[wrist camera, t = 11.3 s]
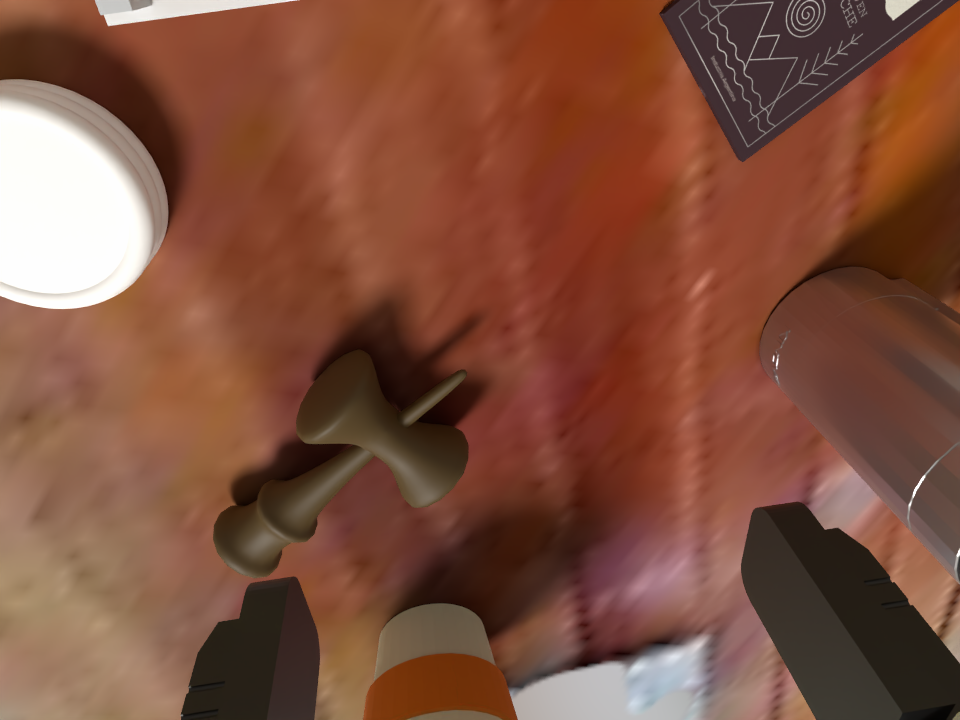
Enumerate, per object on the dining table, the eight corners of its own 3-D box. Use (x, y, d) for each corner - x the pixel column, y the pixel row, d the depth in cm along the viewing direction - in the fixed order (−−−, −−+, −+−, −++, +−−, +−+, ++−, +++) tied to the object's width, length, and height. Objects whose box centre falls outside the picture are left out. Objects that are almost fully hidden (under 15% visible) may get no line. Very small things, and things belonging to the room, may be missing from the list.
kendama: (188, 479, 42) (404, 292, 36) (302, 540, 47) (509, 385, 41) (164, 553, 37) (408, 352, 31) (294, 613, 42) (527, 449, 36)
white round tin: (-112, 161, 29) (-166, 185, 26) (40, 28, 27) (0, 38, 24) (76, 314, 34) (48, 348, 32) (214, 212, 32) (199, 238, 30)
